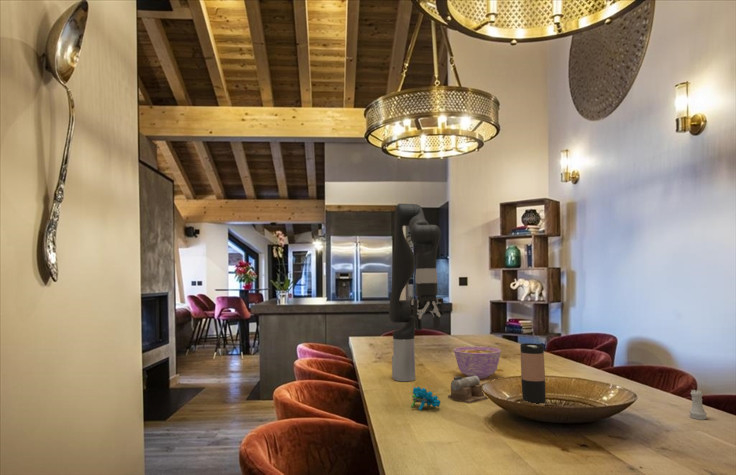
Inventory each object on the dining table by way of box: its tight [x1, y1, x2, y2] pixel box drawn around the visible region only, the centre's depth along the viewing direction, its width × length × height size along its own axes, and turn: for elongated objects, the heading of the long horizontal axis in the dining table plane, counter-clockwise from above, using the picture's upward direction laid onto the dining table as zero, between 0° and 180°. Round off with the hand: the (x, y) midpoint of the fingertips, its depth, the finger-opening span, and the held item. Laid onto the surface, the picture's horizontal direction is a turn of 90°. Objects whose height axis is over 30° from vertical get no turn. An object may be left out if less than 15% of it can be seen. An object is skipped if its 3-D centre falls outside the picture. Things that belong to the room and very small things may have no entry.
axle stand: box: [447, 375, 489, 404], centre depth 169 cm, size 12×10×8 cm
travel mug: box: [520, 342, 546, 404], centre depth 160 cm, size 8×8×20 cm
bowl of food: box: [453, 346, 501, 380], centre depth 205 cm, size 20×20×12 cm
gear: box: [410, 386, 441, 412], centre depth 156 cm, size 11×6×10 cm
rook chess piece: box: [688, 389, 708, 421], centre depth 143 cm, size 4×4×8 cm
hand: (427, 329), depth 163 cm, fingers open, 8 cm apart
